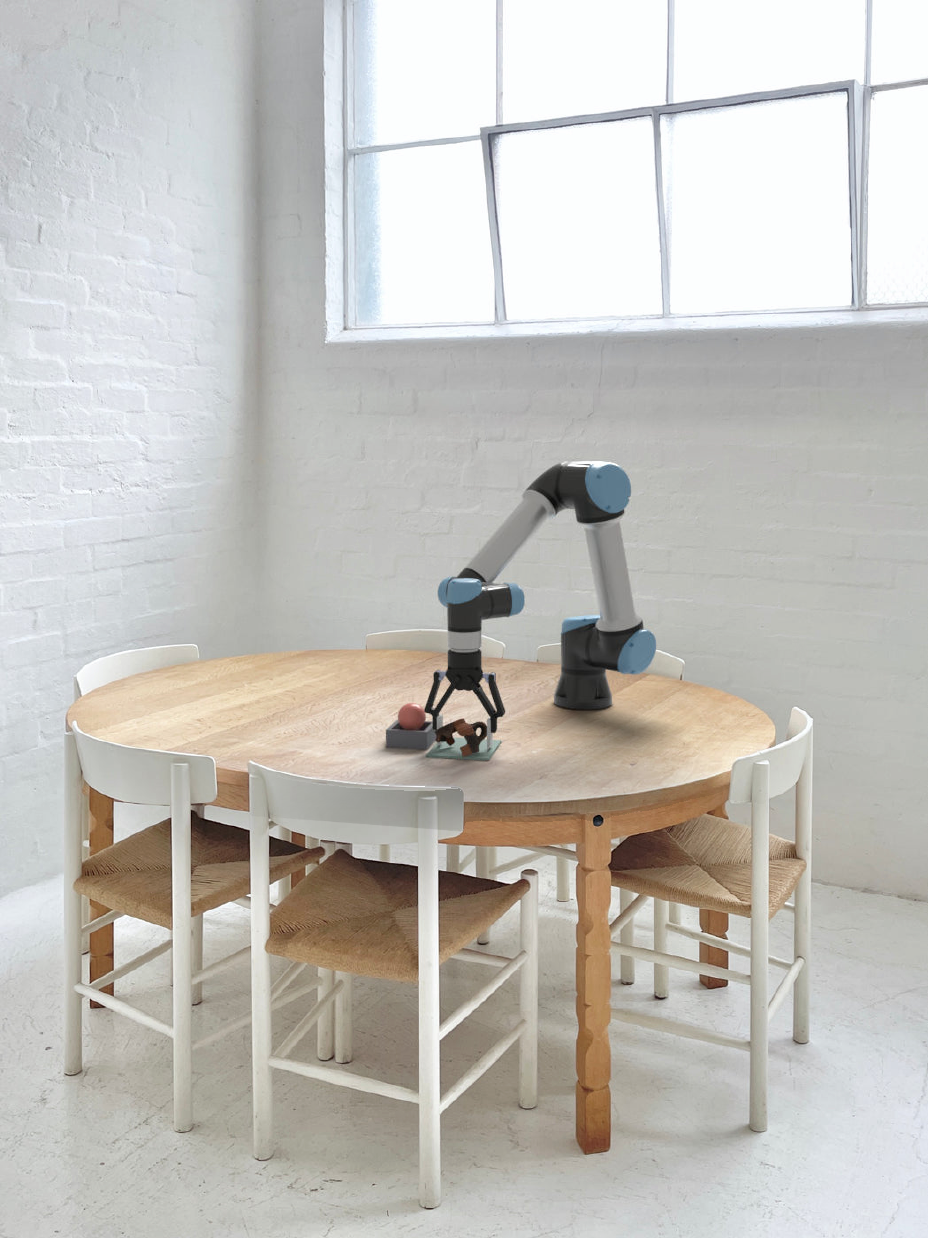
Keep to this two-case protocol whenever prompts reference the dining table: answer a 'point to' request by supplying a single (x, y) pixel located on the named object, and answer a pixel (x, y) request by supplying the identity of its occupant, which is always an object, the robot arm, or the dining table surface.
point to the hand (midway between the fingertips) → (464, 745)
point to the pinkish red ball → (411, 716)
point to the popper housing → (410, 736)
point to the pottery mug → (463, 730)
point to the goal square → (456, 753)
